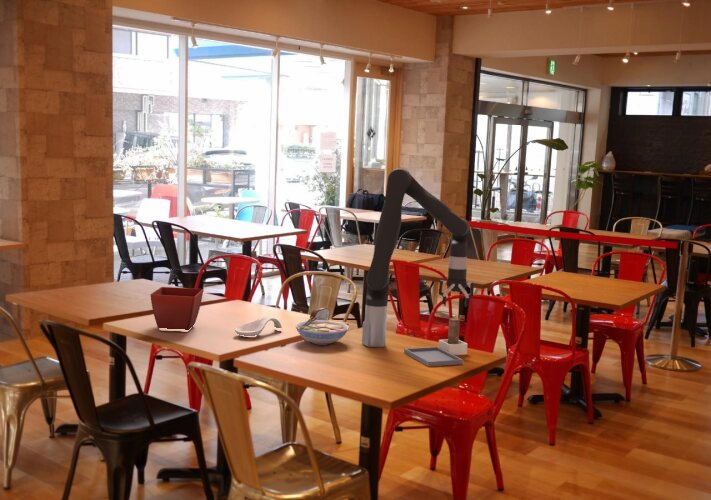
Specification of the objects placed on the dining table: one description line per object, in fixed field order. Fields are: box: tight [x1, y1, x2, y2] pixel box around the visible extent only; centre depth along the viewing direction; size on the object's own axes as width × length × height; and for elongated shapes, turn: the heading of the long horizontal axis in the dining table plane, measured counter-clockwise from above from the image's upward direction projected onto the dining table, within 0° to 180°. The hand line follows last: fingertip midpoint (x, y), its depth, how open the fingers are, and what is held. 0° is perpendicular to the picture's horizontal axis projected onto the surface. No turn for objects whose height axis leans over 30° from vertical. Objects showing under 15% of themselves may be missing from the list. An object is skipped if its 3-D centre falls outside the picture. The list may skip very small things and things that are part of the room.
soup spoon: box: [309, 306, 331, 321], centre depth 372 cm, size 15×3×8 cm, turn 152°
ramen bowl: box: [295, 317, 350, 346], centre depth 339 cm, size 25×23×8 cm
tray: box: [403, 346, 464, 367], centre depth 322 cm, size 15×21×2 cm
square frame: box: [438, 338, 468, 356], centre depth 333 cm, size 9×9×4 cm
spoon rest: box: [234, 316, 283, 336], centre depth 349 cm, size 24×12×7 cm, turn 140°
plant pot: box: [149, 286, 204, 330], centre depth 351 cm, size 19×19×17 cm
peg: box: [447, 317, 461, 344], centre depth 333 cm, size 3×3×14 cm
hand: (455, 306), depth 331 cm, fingers open, 8 cm apart
